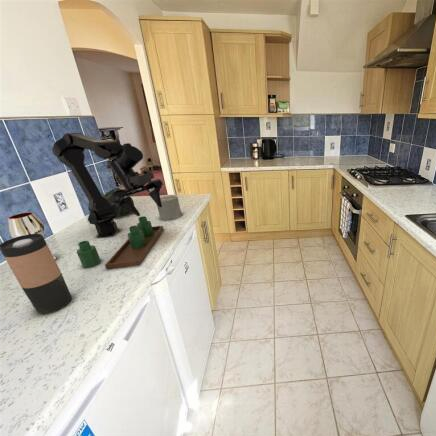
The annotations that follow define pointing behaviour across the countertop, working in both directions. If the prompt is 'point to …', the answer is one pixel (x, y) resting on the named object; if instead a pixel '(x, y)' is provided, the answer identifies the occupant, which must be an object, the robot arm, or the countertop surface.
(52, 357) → the countertop surface
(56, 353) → the countertop surface
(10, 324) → the countertop surface
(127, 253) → the tray
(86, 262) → the green bottle
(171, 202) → the coffee mug
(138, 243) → the bottle middle
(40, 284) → the travel mug
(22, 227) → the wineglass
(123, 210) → the squash
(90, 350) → the countertop surface
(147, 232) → the bottle near
